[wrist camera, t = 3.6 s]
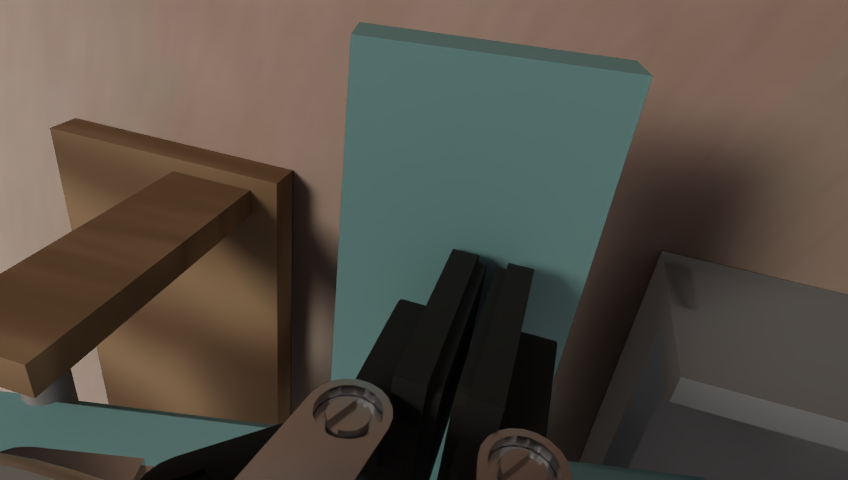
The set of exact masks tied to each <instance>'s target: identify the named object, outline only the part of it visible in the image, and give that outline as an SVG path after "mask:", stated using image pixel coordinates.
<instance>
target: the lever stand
mask: <svg viewBox="0 0 848 480" xmlns="http://www.w3.org/2000/svg"><path fill="white" fill-rule="evenodd" d="M50 130H51V134H52V139H53V144H54V149H55V153H56V158H57V163H58V167H59V172H60V177H61V181H62V186H63V191H64V196H65V200H66V205H67V210H68V214H69V219H70V224H71V228H72V232H70V233H68V234H67V235H65V236H63V237H62V238H60V239H58V240H56V241H55V242H53V243H51V244H50V245H48V246H46V247H45V248H43V249H41V250H40V251H38V252H36V253H35V254H33V255H31V256H30V257H28V258H26V259H25V260H23V261H21V262H20V263H18V264H16V265H14V266H13V267H11V268H9V269H8V270H6V271H4V272H3V273H1V274H0V387H2V388H5V389H8V390H11V391H14V392H17V393H20V394H23V395H26V396H29V397H32V398H36V397H37V396H38V395H40V394H41V393H42V392H43V391H44V390H46V389H47V388H48V387H49V386H50V385H51V384H53V383H54V382H55V381H56V380H57V379H59V378H60V377H61V376H62V375H63V374H64V373H66V372H67V371H68V370H69V369H70V368H72V367H73V366H74V365H75V364H76V363H77V362H79V361H80V360H81V359H82V358H83V357H84V356H86V355H87V354H88V353H89V352H90V351H92V350H93V349H94V348H95V347H96V346H97V351H98V355H99V360H100V365H101V369H102V374H103V379H104V384H105V388H106V393H107V398H108V402H109V405H116V406H124V407H132V408H141V409H149V410H157V411H165V412H173V413H181V414H190V415H198V416H206V417H214V418H222V419H230V420H239V421H247V422H255V423H263V424H271V425H278V424H281V423H284V422H286V420H287V419H288V418H289V417H290V379H291V282H292V186H293V171H292V170H288V169H284V168H280V167H276V166H271V165H267V164H263V163H259V162H255V161H251V160H246V159H242V158H238V157H234V156H230V155H226V154H222V153H217V152H213V151H209V150H205V149H201V148H197V147H192V146H188V145H184V144H180V143H176V142H172V141H168V140H163V139H159V138H155V137H151V136H147V135H143V134H138V133H134V132H130V131H126V130H122V129H118V128H113V127H109V126H105V125H101V124H97V123H93V122H89V121H84V120H80V119H76V118H75V119H72V120H70V121H67V122H65V123H62V124H59V125H57V126H54V127H52V128H50Z"/></svg>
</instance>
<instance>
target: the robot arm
mask: <svg viewBox="0 0 848 480" xmlns="http://www.w3.org/2000/svg"><path fill="white" fill-rule="evenodd" d="M478 260H479V255H476V254H473V253H469V252H465V251H461V250H457V249H453V250H452V252H451V254H450V256H449V258H448V260H447V262H446V264H445V266H444V269H443V271H442V273H441V275H440V277H439V279H438V281H437V283H436V285H435V288H434V290H433V292H432V294H431V296H430V298H429V300H428V302H427V304H426V305H422V304H418V303H415V302H411V301H407V300H404V299H400V300H399V301H398V303H397V304H396V306H395V308H394V310H393V312H392V313H391V315H390V317H389V319H388V321H387V322H386V324H385V326H384V328H383V330H382V332H381V333H380V335H379V337H378V339H377V341H376V342H375V344H374V346H373V348H372V350H371V351H370V353H369V355H368V357H367V359H366V361H365V362H364V364H363V366H362V368H361V370H360V371H359V373H358V375H357V377H356V379H345V378H344V379H338V380H332V381H329V382H327V383H325V384H323V385H320V386H319V387H318V388H316V389H315V390H314V391H313V392H311V393H310V394H309V395H308V397H307V398H306V399H305V400H304V401H303V402H302V403H301V405H300V406H299V407H298V408H297V409H296V410H295V411H294V412H293V414H292V415H291V416H290V417H289V418H288V419H287V420H286V422H284V423H281V424H278V425H275V426H271V427H268V428H265V429H262V430H258V431H255V432H252V433H249V434H246V435H242V436H239V437H236V438H233V439H230V440H226V441H223V442H220V443H217V444H214V445H210V446H207V447H204V448H201V449H198V450H194V451H191V452H188V453H185V454H181V455H178V456H175V457H173V458H170V459H168V460H166V461H163V462H161V463H159V464H158V465H156V466H146V465H145V460H144V458H135V457H126V456H116V455H107V454H97V453H88V452H78V451H69V450H59V449H50V448H40V447H14V448H10V449H7V450H4V451H0V480H430V477H431V474H432V471H433V468H434V465H435V462H436V459H437V455H438V452H439V449H440V446H441V443H442V440H443V437H444V434H445V430H446V427H447V424H448V421H449V425H448V429H447V434H446V439H445V444H444V448H443V453H442V458H441V462H440V467H439V472H438V477H437V480H572V474H571V470H570V467H569V463H568V461H567V459H566V458H565V456H564V455H563V453H562V452H561V450H560V449H559V448H558V447H556V446H555V445H554V444H553V443H552V442H551V441H550V440H548V439H546V433H547V425H548V417H549V409H550V400H551V392H552V384H553V376H554V368H555V360H556V352H557V341H554V340H550V339H547V338H543V337H539V336H536V335H532V334H528V333H525V332H521V330H522V325H523V321H524V316H525V311H526V307H527V302H528V297H529V293H530V288H531V283H532V279H533V274H534V269H532V268H528V267H524V266H520V265H516V264H512V263H508V266H507V269H503V268H499V267H496V269H495V272H494V276H493V279H492V282H491V285H490V288H489V291H488V294H487V297H486V300H485V303H484V306H483V309H482V312H481V316H480V319H479V322H478V325H477V328H476V331H475V334H474V337H473V340H472V343H471V339H472V334H473V329H474V325H475V320H476V316H477V311H478V306H479V302H480V297H481V293H482V288H483V283H484V279H485V274H486V269H487V264H484V263H480V262H478ZM470 343H471V346H470ZM469 348H470V349H469ZM449 418H450V420H449Z"/></svg>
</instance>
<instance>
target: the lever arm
mask: <svg viewBox="0 0 848 480" xmlns="http://www.w3.org/2000/svg"><path fill="white" fill-rule="evenodd" d="M652 77H653V76H652V75H651V74H650V73H649V72H648V71H647V70H646V69H645V68H644V67H643V66H642V65H641V64H640V63H638V62H637V61H634V60H627V59H620V58H613V57H606V56H599V55H591V54H584V53H577V52H570V51H563V50H556V49H548V48H541V47H534V46H527V45H520V44H513V43H505V42H498V41H491V40H484V39H477V38H470V37H462V36H455V35H448V34H441V33H434V32H427V31H419V30H412V29H405V28H398V27H391V26H383V25H376V24H369V23H362V22H359V24H358V25H357V26H356V28H355V29H354V31H353V32H352V33H351V42H350V59H349V76H348V93H347V110H346V127H345V145H344V162H343V179H342V196H341V213H340V230H339V247H338V264H337V281H336V299H335V316H334V333H333V350H332V367H331V381H332V380H338V379H344V378H345V379H356V377H357V375H358V373H359V371H360V370H361V368H362V366H363V364H364V362H365V361H366V359H367V357H368V355H369V353H370V351H371V350H372V348H373V346H374V344H375V342H376V341H377V339H378V337H379V335H380V333H381V332H382V330H383V328H384V326H385V324H386V322H387V321H388V319H389V317H390V315H391V313H392V312H393V310H394V308H395V306H396V304H397V303H398V301H399V300H400V299H404V300H407V301H411V302H415V303H418V304H422V305H426V304H427V302H428V300H429V298H430V296H431V294H432V292H433V290H434V288H435V285H436V283H437V281H438V279H439V277H440V275H441V273H442V271H443V269H444V266H445V264H446V262H447V260H448V258H449V256H450V254H451V252H452V250H453V249H457V250H461V251H465V252H469V253H473V254H476V255H479V260H478V262H480V263H484V264H487V269H486V274H485V279H484V283H483V288H482V293H481V297H480V302H479V306H478V311H477V316H476V320H475V325H474V329H473V334H472V339H471V343H472V340H473V337H474V334H475V331H476V328H477V325H478V322H479V319H480V316H481V312H482V309H483V306H484V303H485V300H486V297H487V294H488V291H489V288H490V285H491V282H492V279H493V276H494V272H495V269H496V267H499V268H503V269H507V266H508V263H512V264H516V265H520V266H524V267H528V268H532V269H534V274H533V279H532V283H531V288H530V293H529V297H528V302H527V307H526V311H525V316H524V321H523V325H522V330H521V332H525V333H528V334H532V335H536V336H539V337H543V338H547V339H550V340H554V341H557V352H556V360H555V368H554V376H553V381H554V378H555V375H556V372H557V369H558V366H559V363H560V360H561V357H562V354H563V350H564V347H565V344H566V341H567V338H568V335H569V332H570V329H571V326H572V323H573V320H574V317H575V314H576V310H577V307H578V304H579V301H580V298H581V295H582V292H583V289H584V286H585V283H586V280H587V277H588V274H589V270H590V267H591V264H592V261H593V258H594V255H595V252H596V249H597V246H598V243H599V240H600V237H601V234H602V230H603V227H604V224H605V221H606V218H607V215H608V212H609V209H610V206H611V203H612V200H613V197H614V194H615V191H616V187H617V184H618V181H619V178H620V175H621V172H622V169H623V166H624V163H625V160H626V157H627V154H628V151H629V147H630V144H631V141H632V138H633V135H634V132H635V129H636V126H637V123H638V120H639V117H640V114H641V111H642V107H643V104H644V101H645V98H646V95H647V92H648V89H649V86H650V83H651V80H652ZM471 343H470V346H471ZM469 349H470V348H469ZM449 420H450V418H449ZM448 425H449V421H448V424H447V427H446V430H445V434H444V437H443V440H442V443H441V446H440V449H439V452H438V455H437V459H436V462H435V465H434V468H433V471H432V474H431V477H430V480H437V477H438V472H439V467H440V462H441V458H442V453H443V448H444V444H445V439H446V434H447V429H448ZM271 426H275V425H271V424H263V423H255V422H247V421H239V420H230V419H222V418H214V417H206V416H198V415H190V414H181V413H173V412H165V411H157V410H149V409H141V408H132V407H124V406H116V405H108V404H100V403H91V402H83V401H78V397H77V393H76V389H75V385H74V381H73V377H72V373H71V369H69V370H68V371H67V372H66V373H64V374H63V375H62V376H61V377H60V378H59V379H57V380H56V381H55V382H54V383H53V384H51V385H50V386H49V387H48V388H47V389H46V390H44V391H43V392H42V393H41V394H40V395H38V396H37V397H36V398H32V397H29V396H26V395H23V394H20V393H19V394H18V393H10V392H2V391H0V451H4V450H7V449H10V448H14V447H40V448H50V449H59V450H69V451H78V452H88V453H97V454H107V455H116V456H126V457H135V458H144V460H145V465H146V466H156V465H158V464H159V463H161V462H163V461H166V460H168V459H170V458H173V457H175V456H178V455H181V454H185V453H188V452H191V451H194V450H198V449H201V448H204V447H207V446H210V445H214V444H217V443H220V442H223V441H226V440H230V439H233V438H236V437H239V436H242V435H246V434H249V433H252V432H255V431H258V430H262V429H265V428H268V427H271ZM568 463H569V467H570V470H571V474H572V480H706V478H704V477H696V476H688V475H680V474H672V473H663V472H655V471H647V470H639V469H631V468H623V467H614V466H606V465H598V464H590V463H582V462H574V461H568Z"/></svg>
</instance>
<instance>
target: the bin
mask: <svg viewBox="0 0 848 480" xmlns="http://www.w3.org/2000/svg"><path fill="white" fill-rule="evenodd" d="M579 462H582V463H590V464H598V465H606V466H614V467H623V468H631V469H639V470H647V471H655V472H663V473H672V474H680V475H688V476H696V477H704V478H706V480H848V295H846V294H841V293H837V292H833V291H829V290H825V289H820V288H816V287H812V286H808V285H804V284H799V283H795V282H791V281H787V280H783V279H778V278H774V277H770V276H766V275H762V274H757V273H753V272H749V271H745V270H741V269H736V268H732V267H728V266H724V265H720V264H715V263H711V262H707V261H703V260H699V259H694V258H690V257H686V256H682V255H678V254H673V253H669V252H665V251H662V252H661V254H660V257H659V259H658V262H657V264H656V267H655V270H654V272H653V275H652V277H651V280H650V282H649V285H648V287H647V290H646V292H645V295H644V297H643V300H642V303H641V305H640V308H639V310H638V313H637V315H636V318H635V320H634V323H633V325H632V328H631V331H630V333H629V336H628V338H627V341H626V343H625V346H624V348H623V351H622V353H621V356H620V359H619V361H618V364H617V366H616V369H615V371H614V374H613V376H612V379H611V381H610V384H609V386H608V389H607V392H606V394H605V397H604V399H603V402H602V404H601V407H600V409H599V412H598V414H597V417H596V420H595V422H594V425H593V427H592V430H591V432H590V435H589V437H588V440H587V442H586V445H585V447H584V450H583V453H582V455H581V458H580V460H579Z"/></svg>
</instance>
